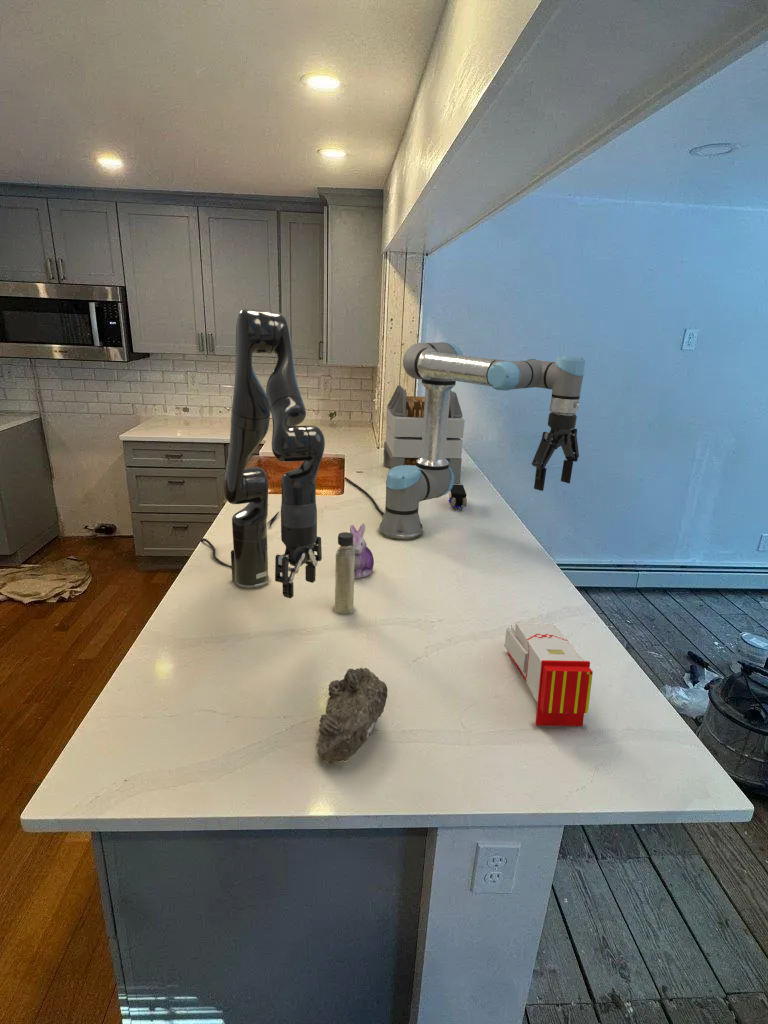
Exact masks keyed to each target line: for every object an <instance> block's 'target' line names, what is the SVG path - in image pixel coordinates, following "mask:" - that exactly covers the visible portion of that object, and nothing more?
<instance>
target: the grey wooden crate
mask: <svg viewBox="0 0 768 1024" xmlns="http://www.w3.org/2000/svg"><path fill="white" fill-rule="evenodd" d="M407 394H408V393H407V390H406V389H404V388H403V387H402V385H399V384H398V385H397V386H396V388H395V390H394V392H393V394H392V395H391V398H390V400H389V402H388V404H387V405H386V413H385V414H386V415H385V423H386V428H385V438H384V442H383V466H384V467H388V468H389V470H390V469H392V468H394V467H396V466H401V465H404V466H405V465H413V466H416V461H417V459H418V458H420V457H421V449H422V434H423V419H424V404H425V396H415V395H414V396H413V395H412V396H411V395H407ZM464 429H465V419H464V418H463V411H462V408H461V405H460V402H459V398H458V395H457V392H455V391H453V390H451V392H450V404H449V416H448V428H447V441H446V453H445V458H446V459H447V461H448V462H449V466H450V467H451V469H452V473H454V484H459V483H461V472H462V461H463V460H462V453H463V442H464V441H463V440H462V439H463V438H464V431H465V430H464Z"/></svg>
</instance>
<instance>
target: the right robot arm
mask: <svg viewBox="0 0 768 1024" xmlns="http://www.w3.org/2000/svg"><path fill="white" fill-rule="evenodd" d="M585 365H586V360H585V358H584V357H582V356H578V355H566V354H565V355H564V354H563V355H558V356H557V357H556V360H555V361H549V360H541V359H536V358H524V359H521V360H506V359H505V360H504V359H503V360H502V359H496V358H487V357H479V356H471V355H464V354H463V352H462V350H461V349H460V347H459V346H457V345H456V344H455V343H451V342H445V341H443V342H442V341H441V342H440V341H439V342H438V341H437V342H417V343H414V344H412V345H411V346H409V347H408V348H407V350H406V351H405V353H404V355H403V358H402V366H403V369H404V372H405V373H406V374H407V375H408V376H409V377H411V378H412V379H415V380H421V385H422V386H423V387H424V389H425V392H424V397H425V404H424V419H423V434H422V449H421V457H420V458H418V459H417V461H416V466H413V465H401V466H396V467H394V468H392V469H390V468H389V470H388V472H387V474H386V479H385V504H384V505H385V507H384V508H385V509H384V511H383V510H382V509H381V508H380V507H379V505H378V504H377V502H376V501H375V499H374V498H373V497H372V496H371V495H370V494H369V493H368V492H367V491H366V490H365V489H363V488H362V487H361V486H359V485H358V484H356V483H355V482H354V481H352V480H351V479H349V478H347V477H345V476H344V480H345V481H347V482H348V483H349V484H350V485H352V486H354V487H355V488H357V489H358V490H360V491H361V492H362V493H364V494H365V495H366V496H367V498H369V499H370V500H371V502H372V503H373V505H374V507H375V509H376V510H377V512H379V513H380V514H381V515H382V519H381V522H379V525H378V533H379V534H380V535H381V536H382V537H385V538H387V539H389V540H395V541H410V540H415V539H418V538H420V537H421V536H422V535H423V524H422V523H421V518H420V515H419V507H420V506H419V505H420V502H423V501H427V500H431V499H437V498H440V497H443V496H446V495H448V493H450V492H451V491H450V490H451V489H452V487H453V484H455V483H454V473H452V469H451V467H450V466H449V462H448V461H447V459H446V458H445V453H446V441H447V428H448V416H449V404H450V392H451V391H452V389H453V388H454V387H455V386H456V384H457V382H461V383H465V384H473V385H479V386H487V387H491V388H492V389H494V390H496V391H503V392H504V391H511V390H520V389H532V388H533V389H534V388H539V389H546V390H551V398H550V404H549V413H548V418H547V419H548V420H547V426H548V427H549V428H550V431H549V432H548V431H543V432H542V435H541V440H540V442H539V445H538V447H537V449H536V452H535V454H534V457H533V460H532V461H531V466H533V467H535V475H534V477H535V478H534V485H533V489H534V490H537V491H539V492H543V491H544V489H545V484H546V483H545V482H546V476H547V468H546V466H547V465H548V463H549V461H550V459H551V457H552V456H553V454H554V453H555V451H556V450H557V449H558V448H560V447H561V449H562V452H563V455H564V458H565V459H563V463H562V468H561V469H562V470H561V475H560V482H562V483H566V484H571V478H572V472H573V466H574V463H576V462H578V461H579V457H580V453H579V444H578V428H576V423H577V419H578V416H577V414H578V412H579V411H578V410H579V406H580V397H581V391H582V385H583V380H584V376H585Z"/></svg>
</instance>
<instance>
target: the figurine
mask: <svg viewBox="0 0 768 1024" xmlns="http://www.w3.org/2000/svg"><path fill="white" fill-rule="evenodd" d="M365 531H366V524H365V523H362V524H361V525H360V527H359V528H358V530H357V528H356V527H355V525H354V524H350V526H349V533H352V534H353V544H352V545H351V546H350V547H351V548H352V550H353V551H354V553H355V564H354V579H360V578H365V577H368V576H370V575H371V574H372V573H373V570H374V565H375V560H374V555H373V552H372V551H371V549H370V548H369V547H367V542H366V540H365V538H364V535H365Z"/></svg>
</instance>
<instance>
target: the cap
mask: <svg viewBox="0 0 768 1024" xmlns="http://www.w3.org/2000/svg"><path fill="white" fill-rule="evenodd" d="M337 544H338V546H340V545H341V546H351V545H352V544H353V534H352V533H350V532H348V531H343V532H340V533H338V535H337Z"/></svg>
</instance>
